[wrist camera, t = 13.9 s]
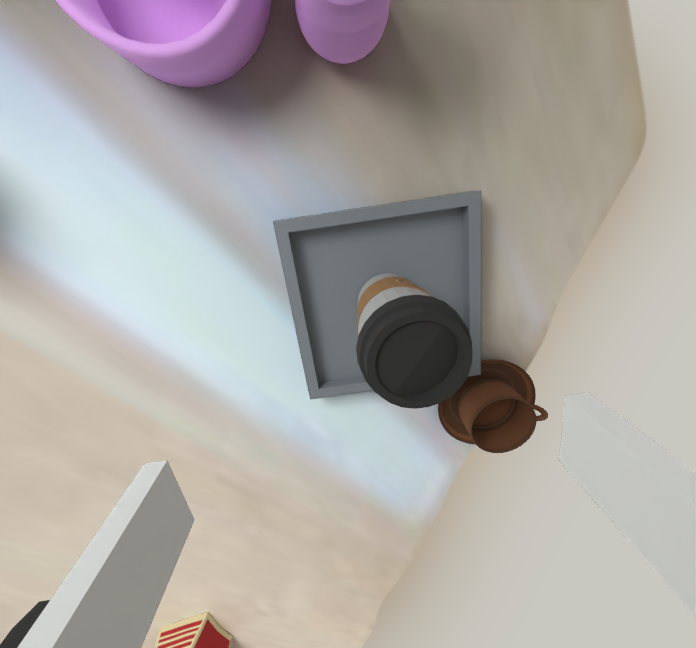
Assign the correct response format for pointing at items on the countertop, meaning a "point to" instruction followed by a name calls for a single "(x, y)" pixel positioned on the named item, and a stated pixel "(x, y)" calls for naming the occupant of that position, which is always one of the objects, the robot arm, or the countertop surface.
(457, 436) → the cup and saucer
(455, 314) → the coffee cup
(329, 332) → the tray
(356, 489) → the countertop surface
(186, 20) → the container set
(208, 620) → the milk carton
